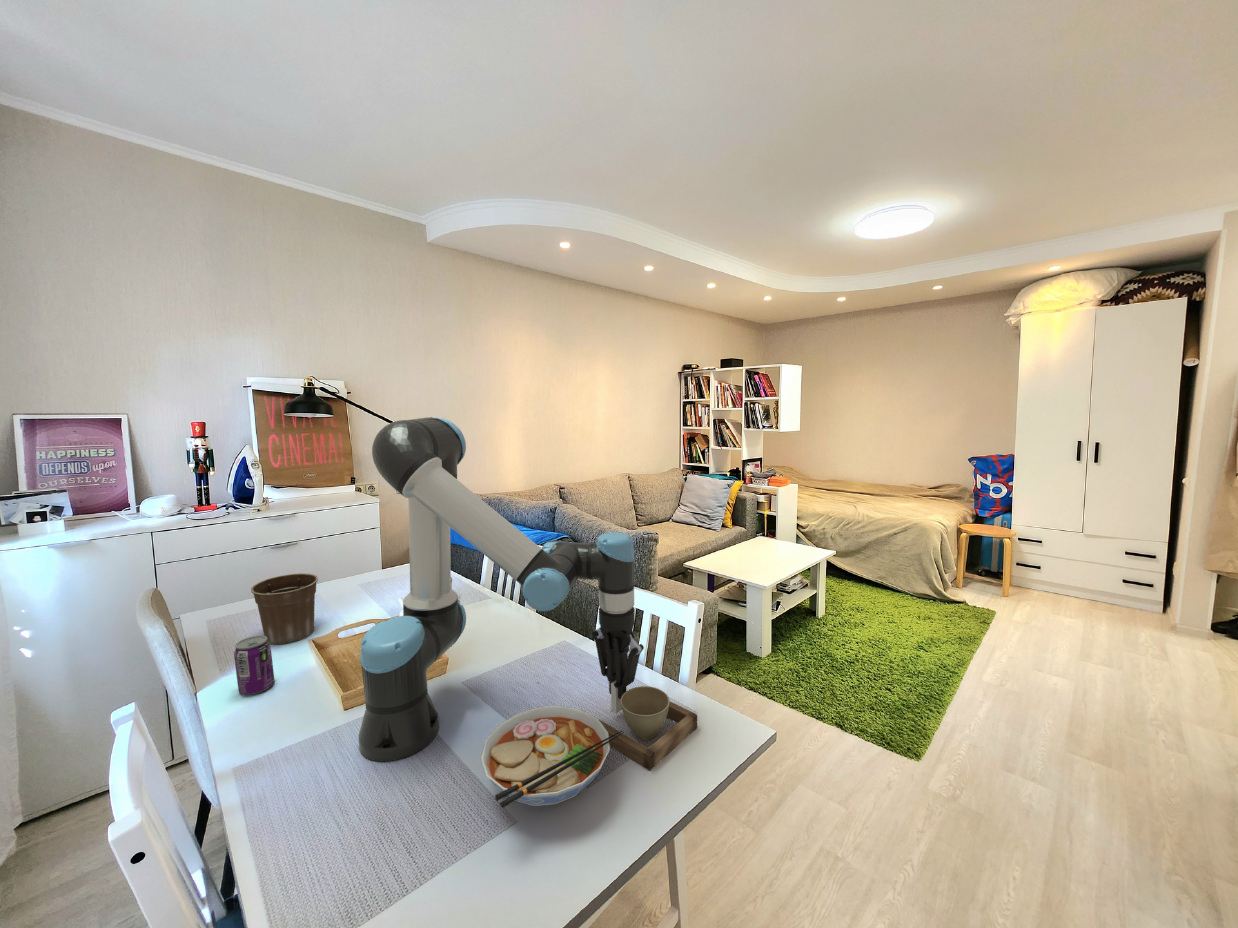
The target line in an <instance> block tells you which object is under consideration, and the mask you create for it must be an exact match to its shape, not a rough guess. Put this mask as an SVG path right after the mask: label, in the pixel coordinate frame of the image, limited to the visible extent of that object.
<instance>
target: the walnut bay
mask: <svg viewBox="0 0 1238 928" xmlns="http://www.w3.org/2000/svg"><path fill="white" fill-rule="evenodd" d="M666 718H667V719H669V720H670V721H672V722H674V723H676V724H675V725H673V727H671V728H670V729H669V730H668V731H667V732H666V733H665V734H664V735H662V736H661V737H660V738H658V739H657V740H656V741H654V743H653V744H652V745H651V746H649V747H647V746H646V745H643V744H642V743H640V742H638V741H636V740H635V739H633V738H631V737H630V736H628V735H626V734H625V733H623V734H622V735H620V736H618V737H617V738H615V739H613V740H612V741H610V742H609V744H610V748H612V749H614V750H615V751H617V752H618V753H620V754H622V755H623V756H625V757H627V758H628V759H630V760H631V761H632V762H634V763H636V764H638V765H640V766H641V767H643V768H644V769H645V770H647V771H652V769H654V768H655V767H656V766H657V765H658V764H659V763H661V761H663V760H664V759H665V758H666V757H667V756H668V755H669V754H670V753H671V752H672V751H674V750H675V749H676V748H677V747H678V746H680V744H681V743H682V742H684V741H685V740H686V738H688V737H689V736H690V735H691V734H692V733H694V732H695V731H696V730H697V729H698V714H697V713H695V712H693V711H691V710H689V709H687V708H685V707H682V706H680V705H679V704H677V703H674V702H672V701H671V700H669V709H668V713H667V717H666ZM599 721H600V722H601V723H602V725H603V726H604V727H605V729H606V730H607V732H608V735H609V737H610V736H612V735H614V734H616V733H618V732H620V731H621V730H618V729H616V728H615V727H612V726H611V725H609V724H608V723H607V722H604V721H603V720H601V719H599ZM621 733H622V732H620V733H618V734H617V735H619V734H621ZM617 735H615V736H613V737H611V738H610V739H612V738H614V737H616V736H617ZM610 739H609V740H610Z"/></svg>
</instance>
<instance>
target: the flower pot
mask: <svg viewBox="0 0 1238 928" xmlns="http://www.w3.org/2000/svg"><path fill="white" fill-rule="evenodd" d="M669 701H670V697H669V696H668V694H667V693H666V692H665V691H663V690H662V689H660V688H658V687H654V686H650V685H647V686H646V685H641V686H635V687H632V688H630V689H628V690H626V692H625V693H624V694H623V695H622V697H621V707H622V710H621V711H622V714H623V716H624V717H623V718H624V720H625V722H626V724H627V726H628V728H629V729H630V731H631V732H632V733H633V735H634V736H635V737H636V738H638V739H640V740H645V741H647V740H652V739H654V738H656V737H657V735H658V734H659V733H660V731H661V729H662V728H663V726H664V724H665V721H666V720H667V719H666V717H667V713H668V709H669Z"/></svg>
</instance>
